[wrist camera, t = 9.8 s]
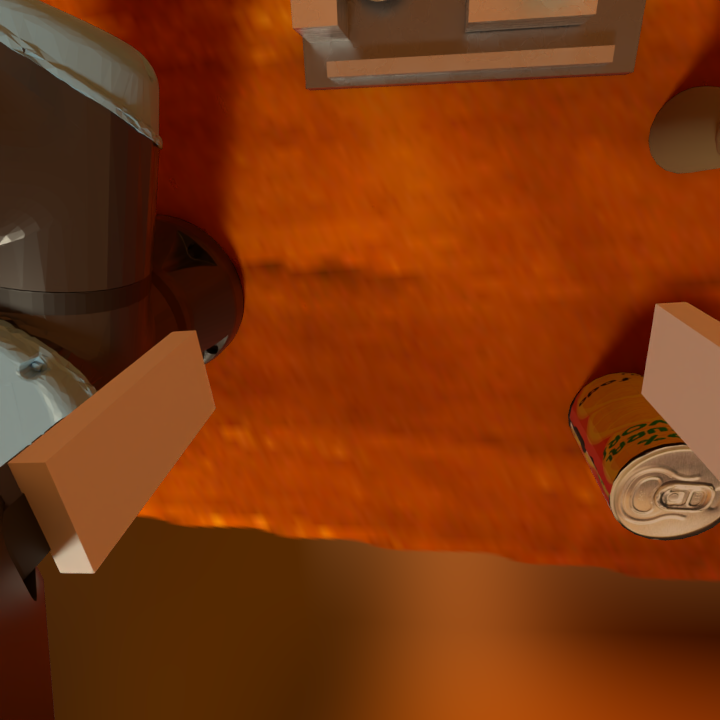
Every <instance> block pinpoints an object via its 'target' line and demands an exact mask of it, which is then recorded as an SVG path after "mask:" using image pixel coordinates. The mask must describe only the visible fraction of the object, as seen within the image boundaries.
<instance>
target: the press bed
mask: <svg viewBox="0 0 720 720" xmlns="http://www.w3.org/2000/svg"><path fill="white" fill-rule="evenodd" d="M645 2H646V0H598V3H597V10H596V15H594V16H593V17H592V18H590V19H589V20H588V21H586V22H585V23H584V24H582V25H568V26H552V27H536V28H520V29H504V30H489V31H473V32H465V24H466V3H467V0H384V1H371V0H291V11H292V25H293V29H294V30H295V31H296V32H298V33H299V34H300V35H301V36H302V37H303V49H304V64H305V79H306V89H308V90H328V89H348V88H368V87H388V86H407V85H427V84H447V83H467V82H487V81H507V80H527V79H547V78H567V77H587V76H607V75H626V74H629V73H632V72H633V71H634V66H635V60H636V54H637V48H638V43H639V37H640V31H641V25H642V20H643V14H644V8H645Z"/></svg>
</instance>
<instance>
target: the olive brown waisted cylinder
mask: <svg viewBox="0 0 720 720" xmlns="http://www.w3.org/2000/svg"><path fill="white" fill-rule="evenodd" d="M649 146H650V152H651V155H652V156H653V158H654V160H655V161H656V163H657V164H658V165H659V166H661V167H662V168H663V169H665V170H667V171H670V172H674V173H691V172H697V171H703V170H710V169H716V168H720V87H712V86H702V87H692V88H690V89H688V90H685V91H683V92H680V93H678V94H677V95H676V96H674V97H673V98H672V99H670V100H669V101H668V102H666V104H665V105H664V106H663V107H662V109H661V110H660V111H659V112H658V114H657V115H656V117H655V119H654V122H653V124H652V126H651V129H650V136H649Z"/></svg>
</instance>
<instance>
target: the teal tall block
mask: <svg viewBox="0 0 720 720" xmlns="http://www.w3.org/2000/svg"><path fill="white" fill-rule="evenodd" d="M597 3H598V0H467V3H466V24H465V32H473V31H489V30H504V29H520V28H536V27H552V26H568V25H582V24H584V23H585V22H586V21H588V20H589V19H590V18H592V17H593V16H594V15H596V10H597Z"/></svg>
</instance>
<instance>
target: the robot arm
mask: <svg viewBox="0 0 720 720" xmlns="http://www.w3.org/2000/svg"><path fill="white" fill-rule="evenodd" d="M162 144H163V142H162V139H161V137H160V136H159V84H158V79H157V76H156V74H155V71H154V69H153V68H152V66H151V64H150V63H149V62H148V60H147V59H146V58H145V57H144V56H143V55H142V54H141V53H140V52H139V51H137V50H136V49H135V48H134V47H132V46H131V45H129V44H127V43H126V42H124V41H122V40H121V39H119V38H117V37H115V36H113V35H111V34H109V33H108V32H106V31H103V30H101V29H99V28H97V27H95V26H93V25H91V24H89V23H87V22H85V21H83V20H81V19H79V18H77V17H74V16H72V15H70V14H68V13H66V12H64V11H61V10H59V9H57V8H55V7H53V6H50V5H48V4H46V3H43V2H41V1H39V0H0V720H55V717H54V705H53V693H52V680H51V667H50V655H49V642H48V629H47V617H46V604H45V592H44V580H43V577H42V575H41V573H40V571H39V569H38V568H37V565H38V564H39V563H40V562H41V560H42V559H43V558H44V557H45V556H46V555H47V554H48V553H49V551H50V552H51V554H52V556H53V558H54V561H55V562H56V564H57V567H58V569H59V571H60V572H61V573H95V572H96V570H97V569H98V568H99V566H100V565H101V564H102V562H103V561H104V560H105V558H106V557H107V555H108V554H109V553H110V551H111V550H112V549H113V547H114V546H115V545H116V543H117V542H118V540H119V539H120V538H121V536H122V535H123V534H124V532H125V531H126V530H127V528H128V527H129V526H130V524H131V523H132V521H133V520H134V519H135V517H136V516H137V515H138V513H139V512H140V511H141V509H142V508H143V507H144V505H145V504H146V502H147V501H148V500H149V498H150V497H151V496H152V494H153V493H154V492H155V490H156V489H157V488H158V486H159V485H160V483H161V482H162V481H163V479H164V478H165V477H166V475H167V474H168V473H169V471H170V470H171V469H172V467H173V466H174V464H175V463H176V462H177V460H178V459H179V458H180V456H181V455H182V454H183V452H184V451H185V449H186V448H187V447H188V445H189V444H190V443H191V441H192V440H193V439H194V437H195V436H196V435H197V433H198V432H199V430H200V429H201V428H202V426H203V425H204V424H205V422H206V421H207V420H208V418H209V417H210V416H211V414H212V413H213V411H214V410H215V409H216V408H215V404H214V400H213V396H212V392H211V388H210V384H209V380H208V376H207V372H206V368H205V364H206V363H208V362H210V361H211V360H213V359H214V358H215V357H217V356H218V355H219V354H220V353H221V352H222V351H223V350H224V349H225V348H226V347H227V346H228V345H229V344H230V343H231V341H232V340H233V339H234V337H235V335H236V333H237V331H238V329H239V327H240V324H241V320H242V316H243V292H242V287H241V283H240V280H239V277H238V274H237V272H236V270H235V268H234V265H233V264H232V262H231V260H230V259H229V257H228V256H227V254H226V253H225V251H224V250H223V249H222V248H221V247H220V245H219V244H218V243H217V242H216V241H215V240H214V239H213V238H211V237H210V236H209V235H208V234H207V233H205V232H204V231H202V230H201V229H200V228H198V227H196V226H195V225H193V224H191V223H189V222H186V221H184V220H181V219H178V218H175V217H171V216H166V215H156V199H157V182H158V164H159V149H162ZM641 394H642V395H643V396H644V397H645V398H646V400H647V401H648V402H649V403H650V404H651V405H652V406H653V407H654V408H655V410H656V411H657V412H658V413H659V414H660V415H661V416H662V417H663V419H664V420H665V421H666V422H667V423H668V424H669V425H670V426H671V428H672V429H673V430H674V431H675V432H676V433H677V434H678V435H679V436H680V438H681V439H682V440H683V441H684V442H685V443H686V444H687V445H688V447H689V448H690V449H691V450H692V451H693V452H694V453H695V454H696V456H697V457H698V458H699V459H700V460H701V461H702V462H703V463H704V464H705V466H706V467H707V468H708V469H709V470H710V471H711V472H712V473H713V475H714V476H715V477H716V478H717V479H718V480H719V481H720V322H719V321H717V320H716V319H714V318H712V317H711V316H709V315H707V314H706V313H704V312H702V311H701V310H699V309H697V308H696V307H694V306H692V305H691V304H689V303H687V302H676V303H659V304H656V305H655V311H654V317H653V323H652V330H651V336H650V342H649V348H648V354H647V361H646V367H645V373H644V379H643V386H642V392H641Z"/></svg>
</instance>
